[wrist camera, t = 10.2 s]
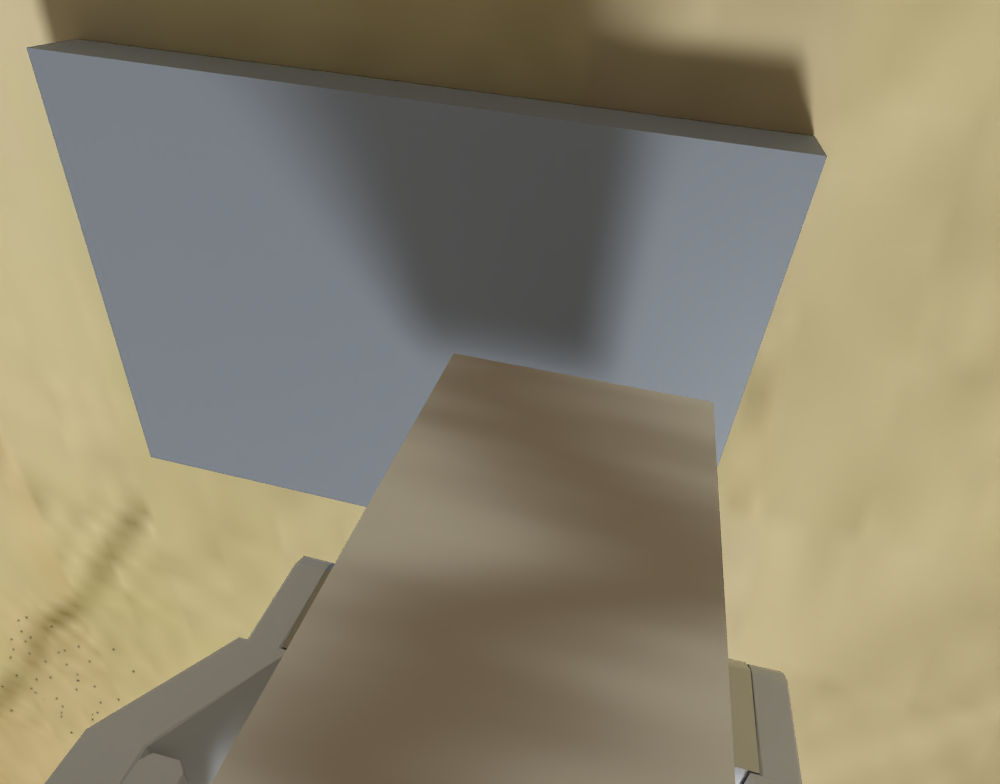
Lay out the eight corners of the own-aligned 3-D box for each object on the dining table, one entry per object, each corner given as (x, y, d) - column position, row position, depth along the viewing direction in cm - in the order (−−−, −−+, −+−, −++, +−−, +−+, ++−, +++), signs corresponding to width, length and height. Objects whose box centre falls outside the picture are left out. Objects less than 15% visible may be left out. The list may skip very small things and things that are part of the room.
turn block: (713, 402, 11) (765, 1275, 4) (641, 623, 15) (597, 1305, 7) (453, 353, 12) (77, 1021, 4) (444, 576, 15) (222, 1159, 8)
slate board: (179, 429, 23) (151, 456, 22) (76, 39, 16) (27, 47, 15) (678, 541, 20) (677, 579, 19) (814, 136, 13) (826, 156, 12)
